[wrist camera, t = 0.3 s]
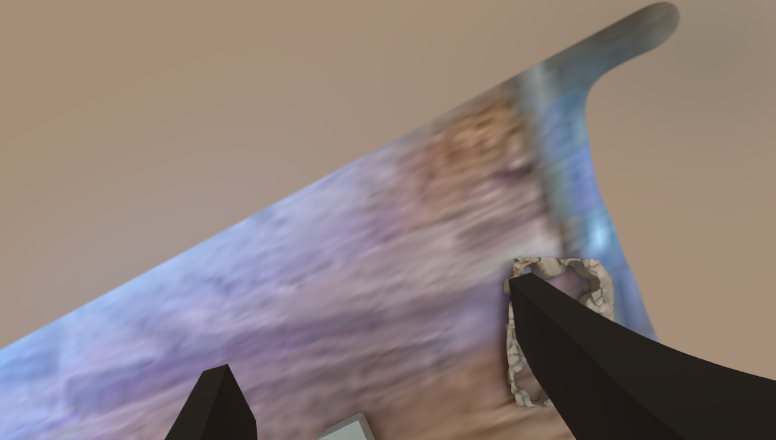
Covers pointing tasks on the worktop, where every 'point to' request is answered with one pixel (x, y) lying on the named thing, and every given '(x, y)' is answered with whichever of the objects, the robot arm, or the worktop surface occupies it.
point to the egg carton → (595, 300)
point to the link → (349, 429)
